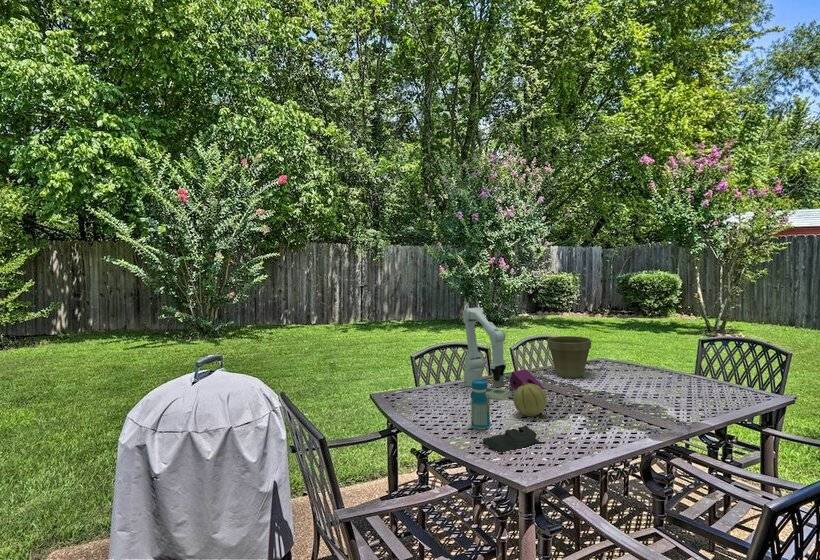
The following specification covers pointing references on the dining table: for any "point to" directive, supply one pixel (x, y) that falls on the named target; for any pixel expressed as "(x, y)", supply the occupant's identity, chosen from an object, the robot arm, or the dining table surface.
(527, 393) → the cantaloupe
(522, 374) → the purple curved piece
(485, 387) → the beverage bottle
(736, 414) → the dining table surface
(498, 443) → the dark slate chunk
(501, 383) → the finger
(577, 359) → the plant pot
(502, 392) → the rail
